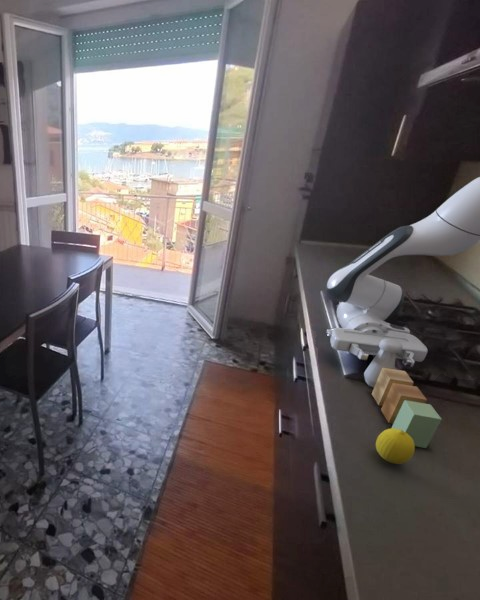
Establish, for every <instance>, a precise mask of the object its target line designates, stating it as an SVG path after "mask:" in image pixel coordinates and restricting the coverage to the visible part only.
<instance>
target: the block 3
mask: <svg viewBox="0 0 480 600" xmlns="http://www.w3.org/2000/svg"><path fill="white" fill-rule="evenodd" d="M442 420H443V419H442V417H441V416H440V415H439V414H438V413H437V410H435V408H434V407H433V406H432V404H431V403H425V404H424V403H418V402H413V401H407V400H404V402H403V404H402V407H401V409H400V411H399V413H398V415H397V417H396V419H395V421H394V424H392V426H391V429H393V428H394V429H399V430H402V431H404V432H406V433H407V434H408V435H410V437H411V438H412V439H413V441H414V444H415V447H417V448H424V449H427V447H428V446H429V444H430V442H431V440H432V439H433V437H434V435H435V433H436V431H437V430H438V427H439V426H440V424H441V422H442Z"/></svg>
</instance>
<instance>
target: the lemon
mask: <svg viewBox="0 0 480 600" xmlns="http://www.w3.org/2000/svg"><path fill="white" fill-rule="evenodd" d="M375 449H376V452H377V453H378V455H379V456H380V457H381V458H382V459H383V460H384V461H386V462H388V463H390V464H394V465H395V464H398V465H401V464H405V463H407V462H409V461H410V460H411V459H412V458H413V456H414V454H415V450H416V446H415V444H414V441H413V439H412V438H411V437H410V435H408V434H407V433H406V432H404V431H402V430H399V429H394V428H393V429H392V428H387V429H384V430H383V431H381V432H380V434H379V435H378V436H377V437H376V441H375Z"/></svg>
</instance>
